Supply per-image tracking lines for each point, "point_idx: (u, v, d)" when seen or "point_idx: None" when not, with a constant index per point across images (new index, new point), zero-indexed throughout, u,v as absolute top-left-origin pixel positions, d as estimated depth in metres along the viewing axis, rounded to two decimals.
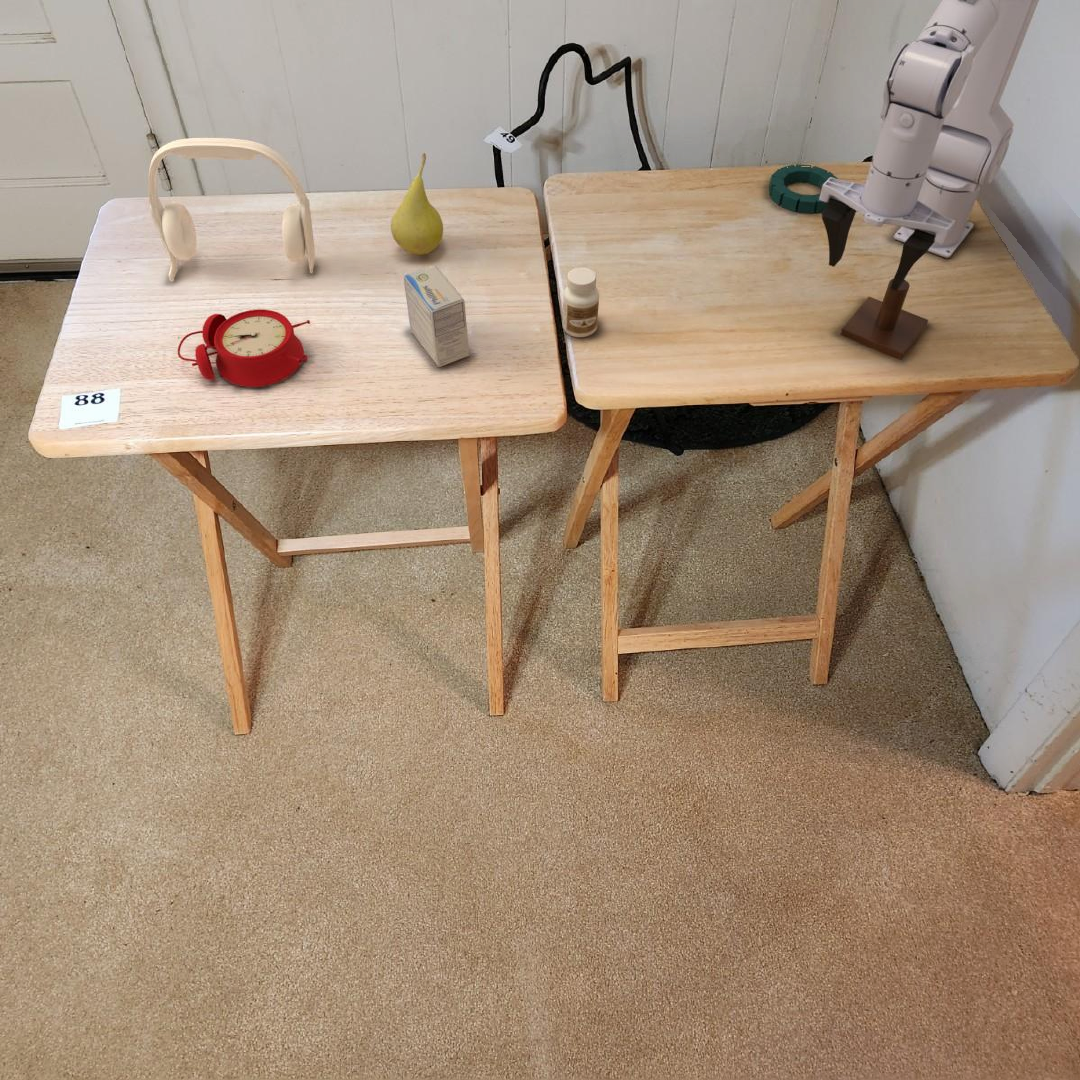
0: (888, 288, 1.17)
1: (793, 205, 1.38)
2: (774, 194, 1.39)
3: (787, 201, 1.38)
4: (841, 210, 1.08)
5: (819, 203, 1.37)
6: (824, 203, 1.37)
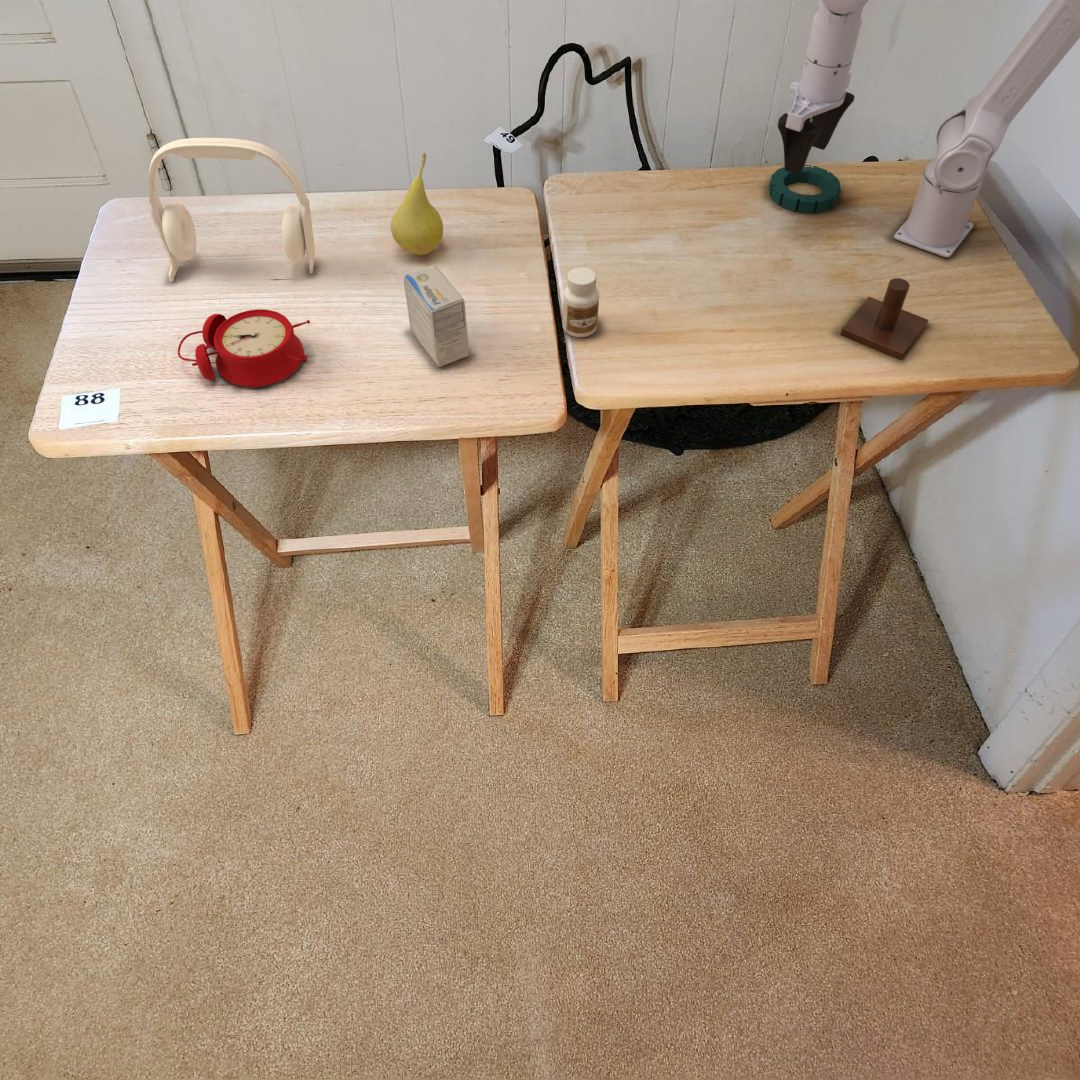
0: (888, 288, 1.17)
1: (793, 205, 1.38)
2: (774, 194, 1.39)
3: (787, 201, 1.38)
4: None
5: (819, 203, 1.37)
6: (824, 203, 1.37)
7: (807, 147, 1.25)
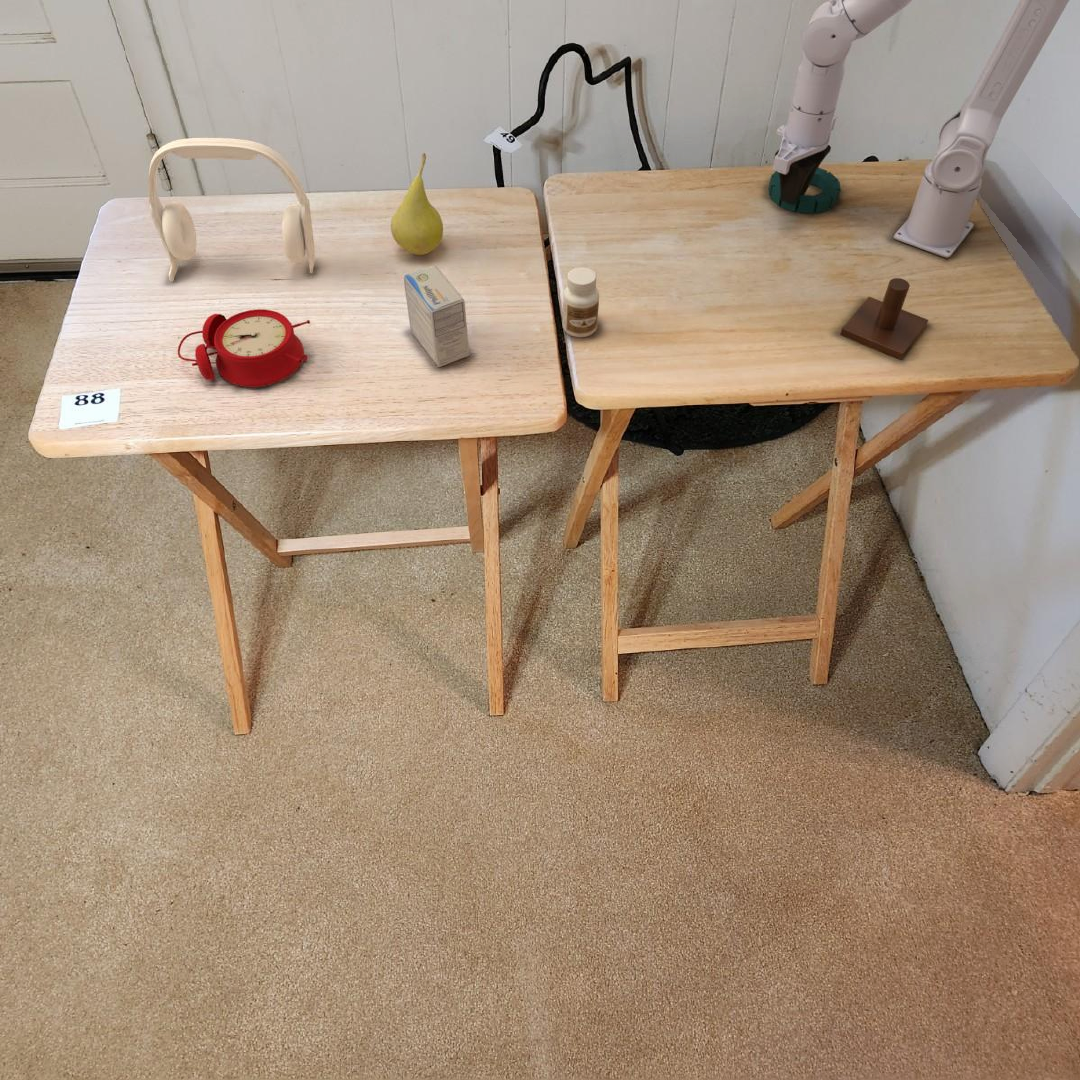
0: (888, 288, 1.17)
1: (793, 206, 1.38)
2: (774, 194, 1.39)
3: None
4: None
5: (819, 203, 1.37)
6: (824, 203, 1.37)
7: (802, 180, 1.32)
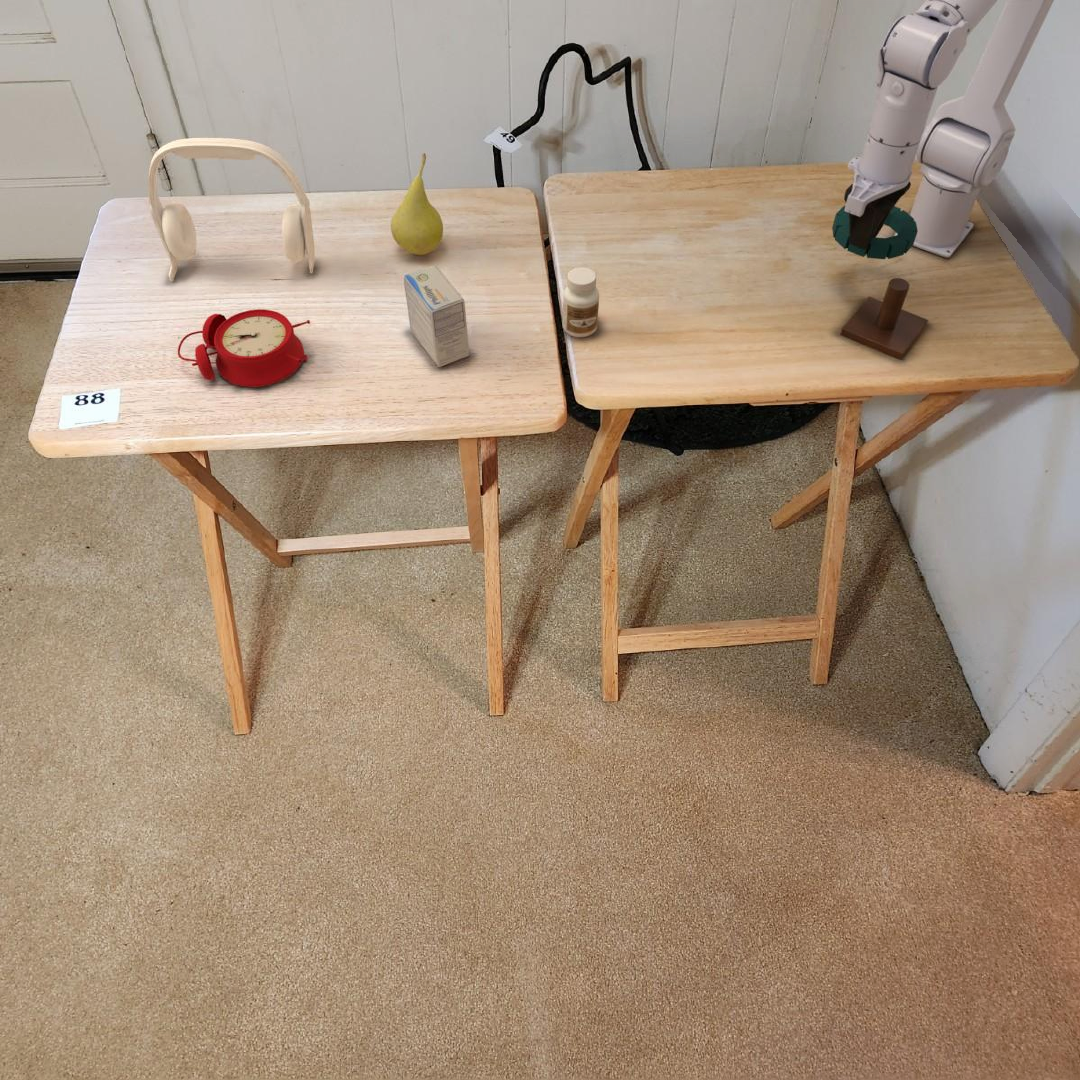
0: (888, 288, 1.17)
1: (862, 250, 1.18)
2: (839, 236, 1.19)
3: None
4: None
5: (893, 247, 1.17)
6: (899, 248, 1.17)
7: (877, 222, 1.13)
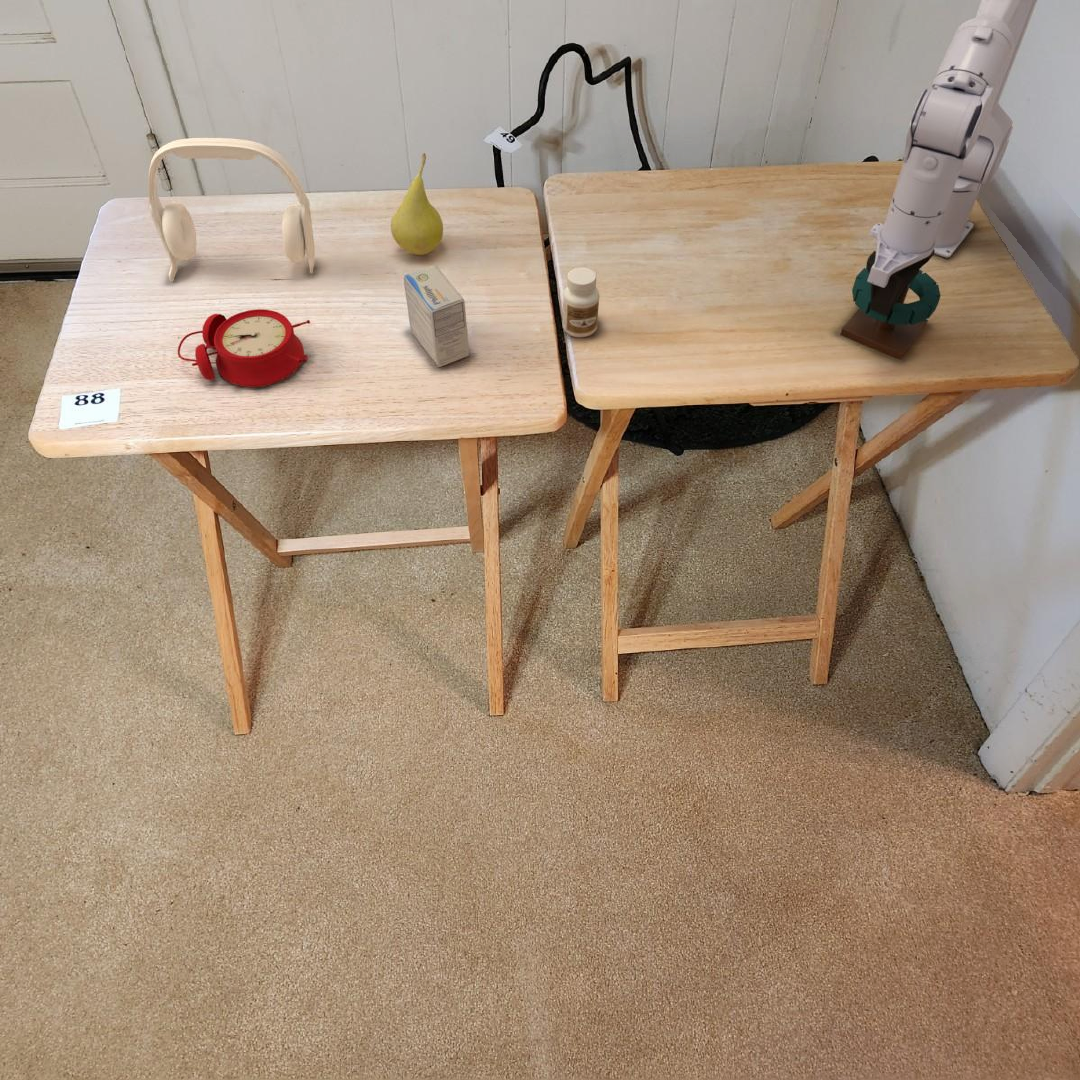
0: None
1: (884, 316, 1.15)
2: (860, 301, 1.16)
3: None
4: None
5: (915, 314, 1.14)
6: (921, 314, 1.14)
7: (900, 291, 1.09)
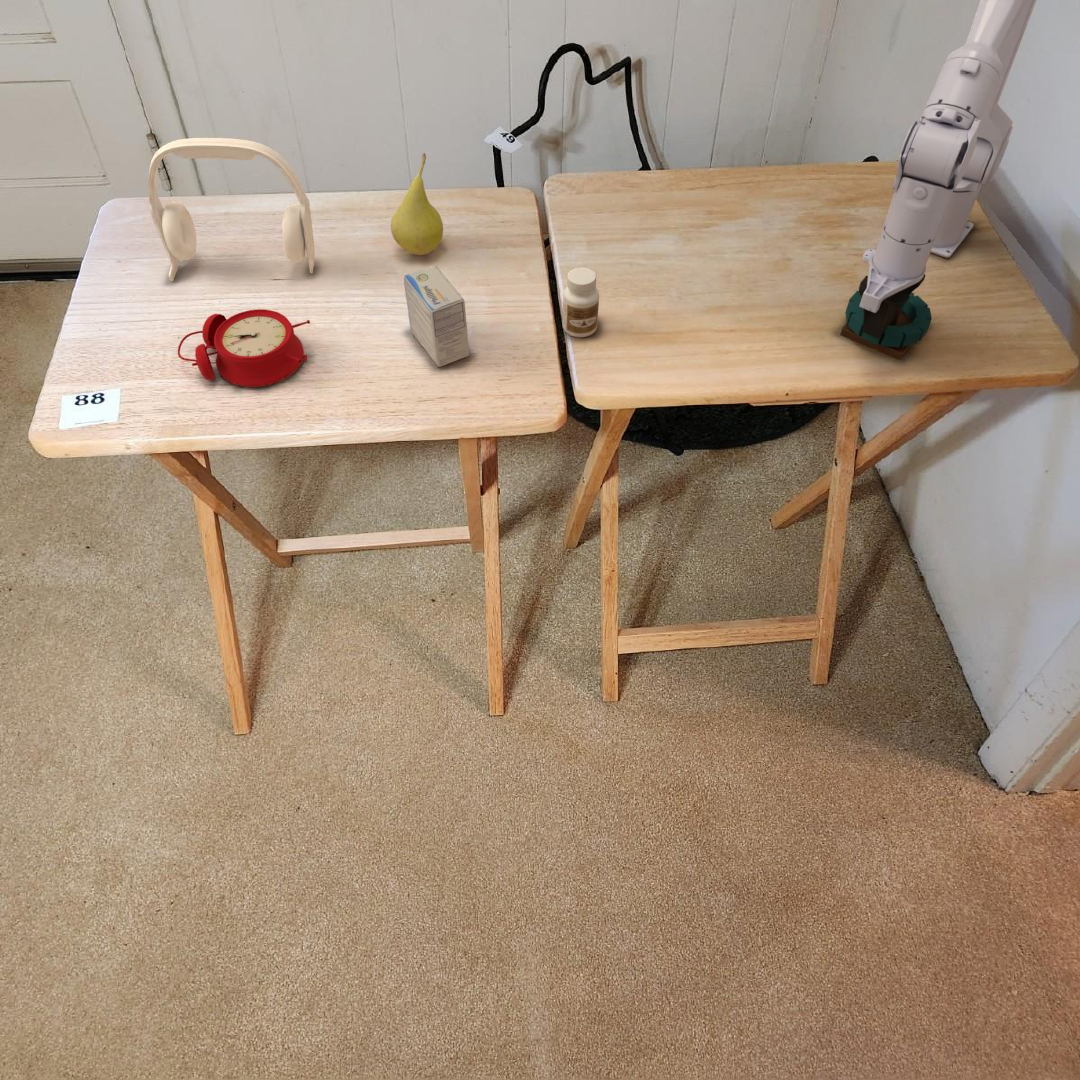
0: None
1: (876, 338, 1.17)
2: (853, 323, 1.19)
3: None
4: None
5: (907, 336, 1.16)
6: (913, 336, 1.17)
7: (891, 315, 1.12)
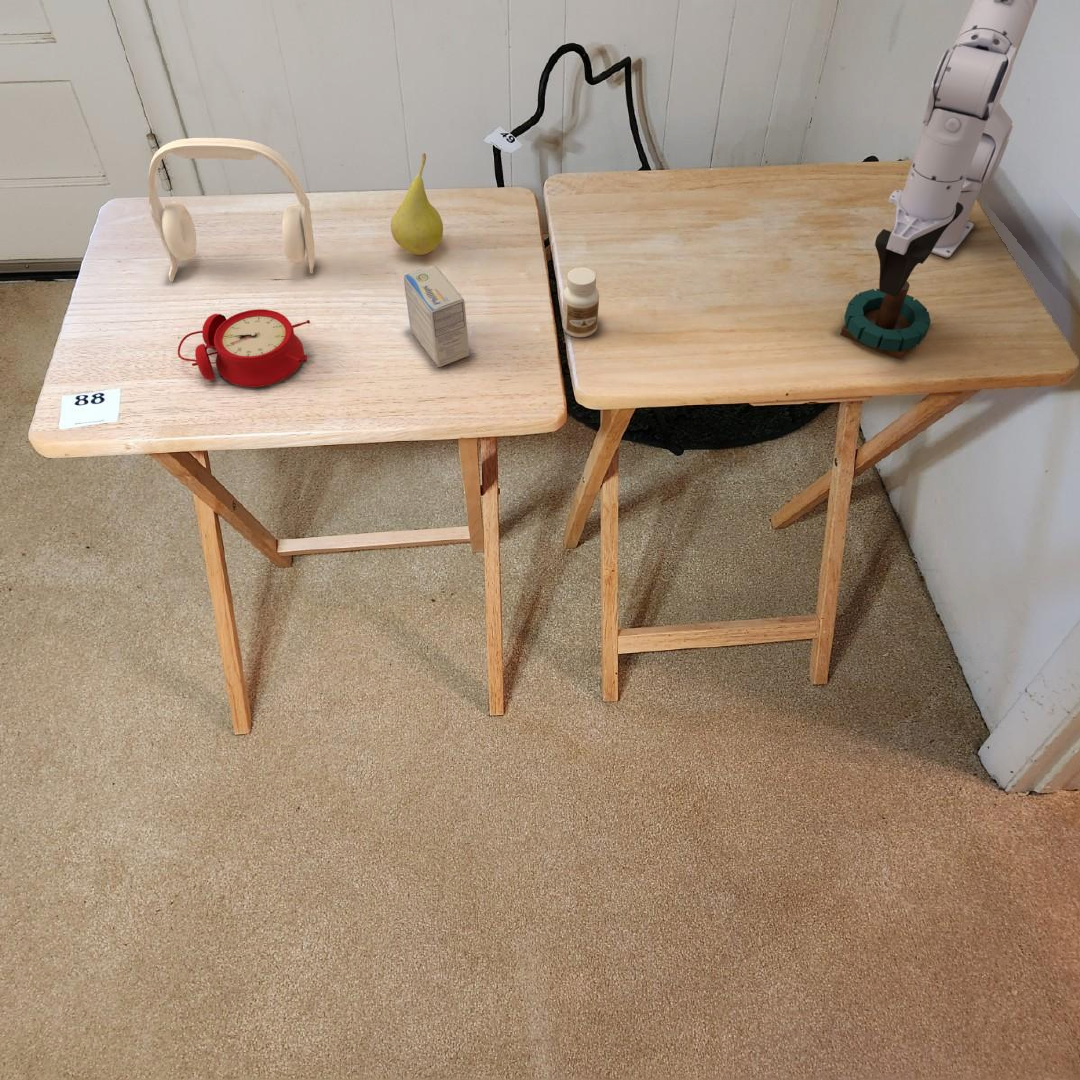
0: None
1: (875, 342, 1.18)
2: (852, 327, 1.19)
3: (867, 337, 1.18)
4: None
5: (905, 340, 1.17)
6: (911, 340, 1.17)
7: (910, 270, 1.06)
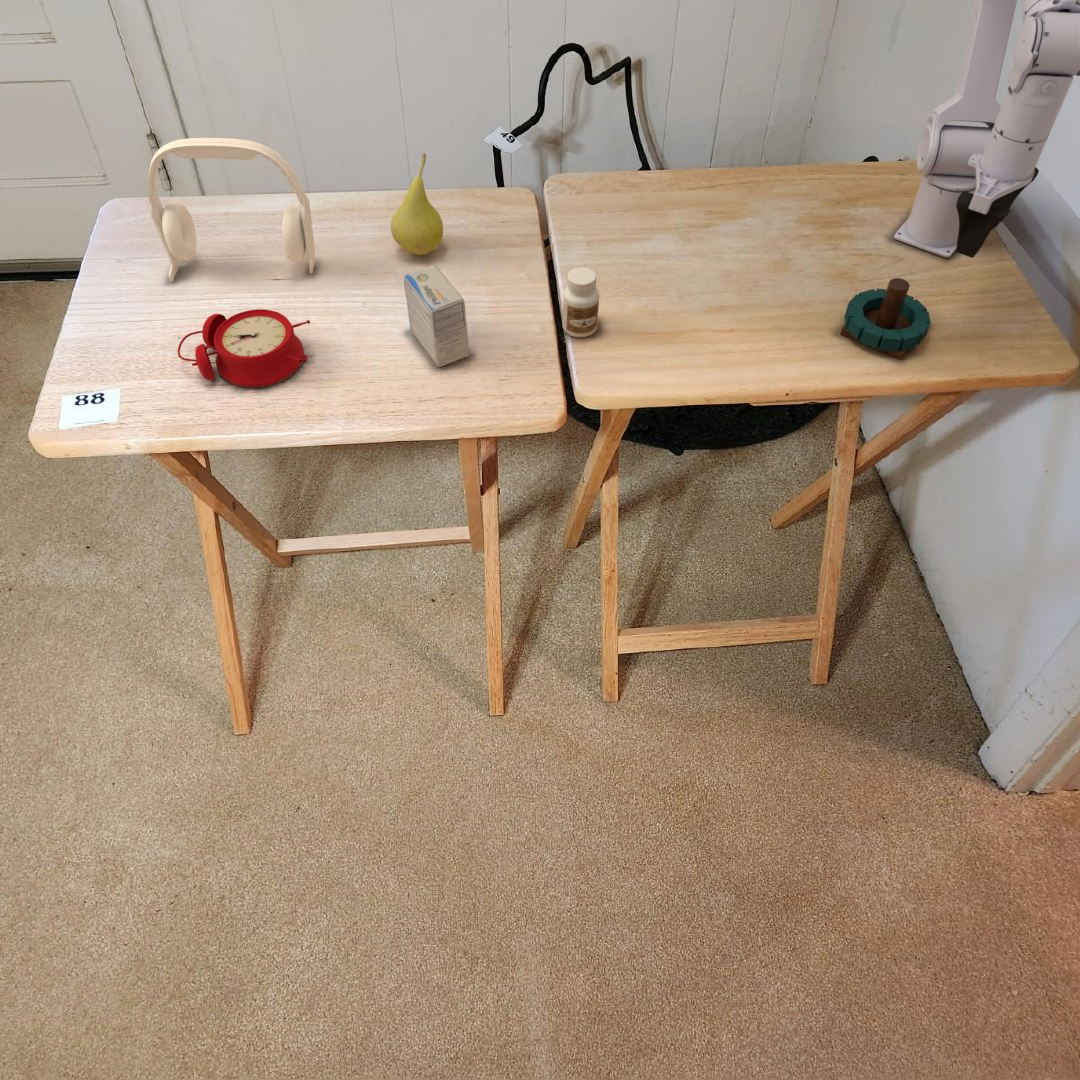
0: (888, 288, 1.17)
1: (875, 342, 1.18)
2: (852, 327, 1.19)
3: (867, 337, 1.18)
4: None
5: (905, 340, 1.17)
6: (911, 340, 1.17)
7: (990, 230, 1.10)
